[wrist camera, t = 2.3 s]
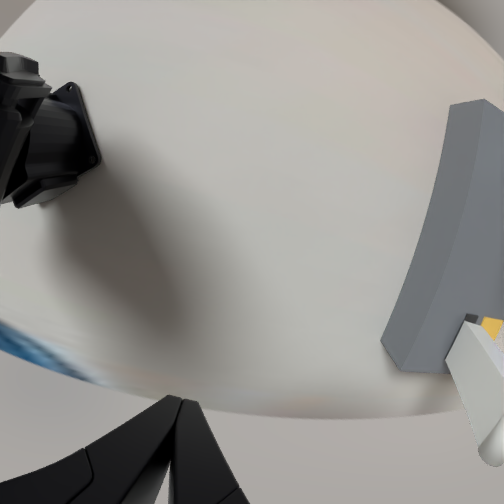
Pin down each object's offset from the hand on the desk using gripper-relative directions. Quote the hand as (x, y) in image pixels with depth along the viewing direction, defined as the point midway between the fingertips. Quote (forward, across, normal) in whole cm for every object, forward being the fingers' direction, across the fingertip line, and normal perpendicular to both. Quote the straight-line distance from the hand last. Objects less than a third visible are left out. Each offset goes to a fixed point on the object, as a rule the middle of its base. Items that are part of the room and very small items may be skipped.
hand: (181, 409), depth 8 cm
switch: (+9, +17, -1) cm, 19 cm away
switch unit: (+13, +17, +6) cm, 22 cm away
